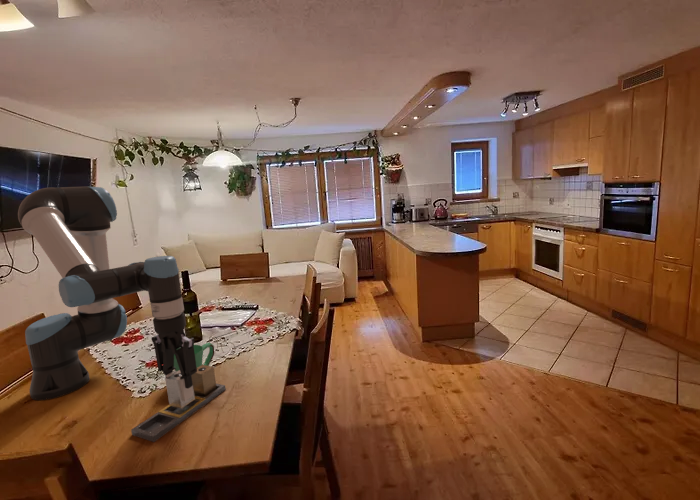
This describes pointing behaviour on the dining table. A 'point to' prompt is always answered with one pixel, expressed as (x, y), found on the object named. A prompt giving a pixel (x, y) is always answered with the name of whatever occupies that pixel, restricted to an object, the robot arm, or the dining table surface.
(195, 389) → the brown rectangular block
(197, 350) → the mug
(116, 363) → the dining table surface
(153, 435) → the grey slotted tray
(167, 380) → the white rectangular block
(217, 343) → the eyeglasses
